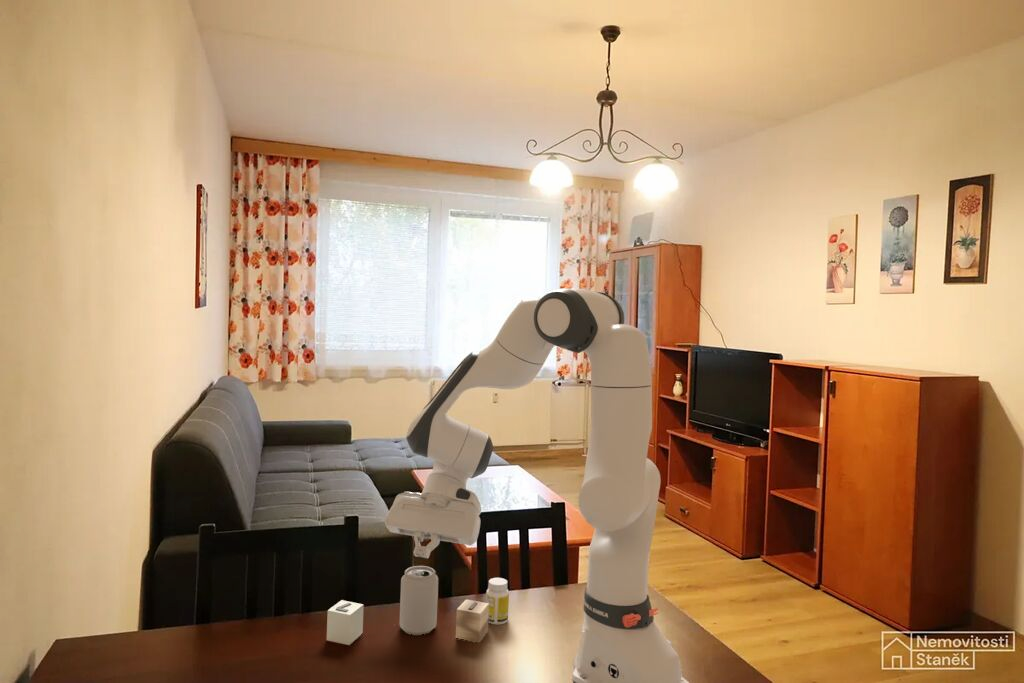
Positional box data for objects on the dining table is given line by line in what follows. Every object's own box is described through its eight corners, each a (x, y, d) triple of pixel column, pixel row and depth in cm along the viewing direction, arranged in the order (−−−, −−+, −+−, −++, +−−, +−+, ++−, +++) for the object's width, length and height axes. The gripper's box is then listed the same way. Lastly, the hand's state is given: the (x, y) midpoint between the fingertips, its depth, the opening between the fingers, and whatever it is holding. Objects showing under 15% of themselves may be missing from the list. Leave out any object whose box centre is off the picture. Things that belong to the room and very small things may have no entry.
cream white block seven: (362, 633, 135) (363, 603, 135) (349, 645, 130) (350, 613, 130) (340, 629, 137) (341, 599, 136) (326, 640, 132) (327, 609, 132)
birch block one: (487, 632, 138) (488, 602, 138) (479, 643, 133) (480, 612, 133) (464, 627, 140) (466, 598, 139) (455, 638, 135) (456, 608, 135)
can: (437, 636, 135) (439, 577, 135) (399, 637, 134) (401, 578, 134) (435, 619, 143) (437, 563, 142) (399, 620, 141) (401, 564, 141)
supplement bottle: (509, 616, 146) (510, 577, 145) (506, 626, 141) (508, 586, 141) (486, 614, 146) (488, 575, 146) (483, 624, 141) (485, 584, 141)
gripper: (394, 482, 148) (370, 541, 139) (482, 495, 141) (462, 556, 133) (403, 497, 152) (379, 555, 143) (488, 510, 146) (470, 571, 137)
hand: (420, 556), depth 138 cm, fingers closed
